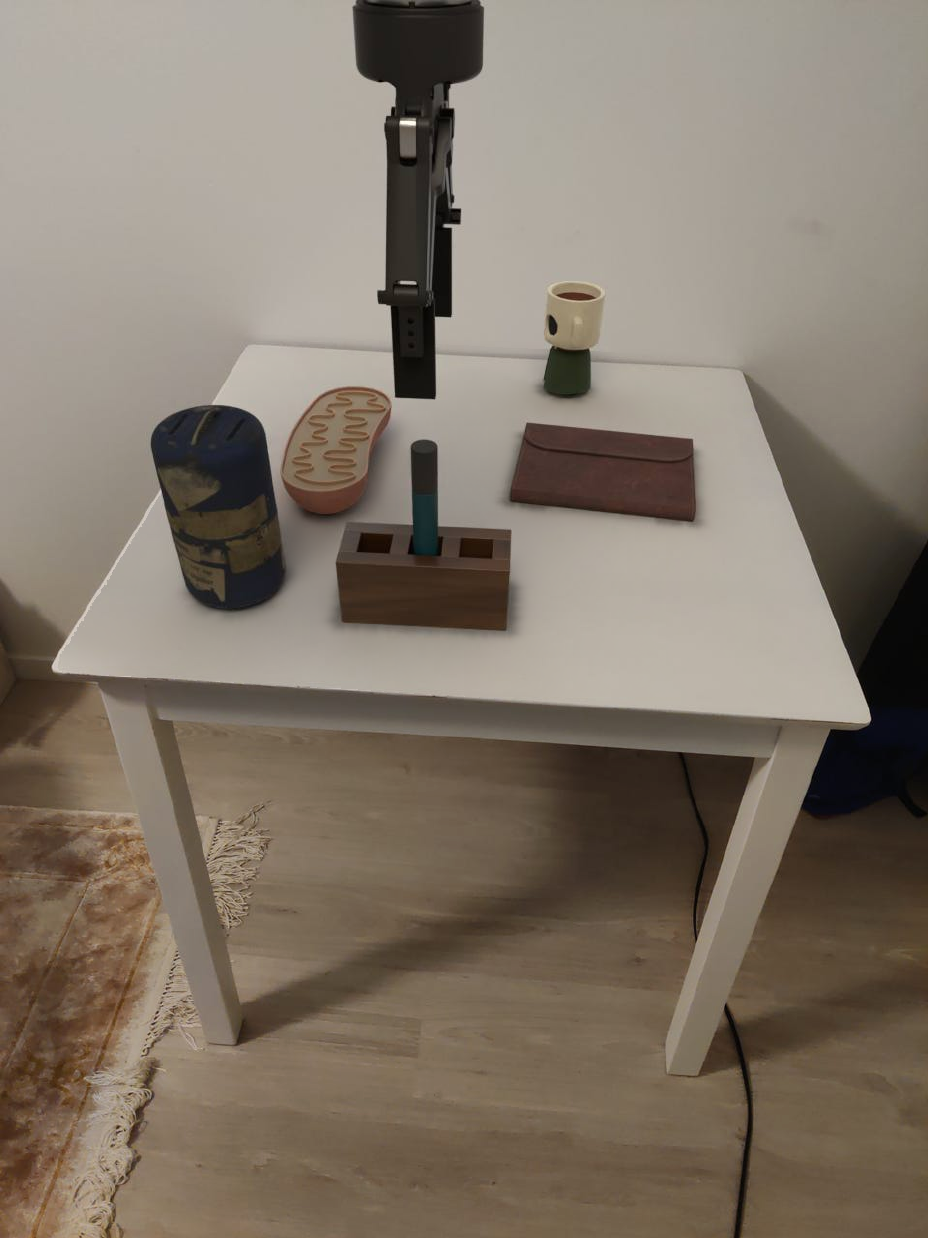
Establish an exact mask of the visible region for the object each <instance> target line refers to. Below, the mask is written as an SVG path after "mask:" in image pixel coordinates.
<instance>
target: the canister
mask: <svg viewBox="0 0 928 1238" xmlns="http://www.w3.org/2000/svg"><path fill="white" fill-rule="evenodd" d="M150 449H151V450H150V451H151V454H152V459H153V463H154V467H155V470H156V476H157V479H158V483H159V488H160V491H161V496H162V499H163V504H164V505H163V506H164V510H165V514H166V518H167V521H168V525H169V528H170V534H171V537H172V541H173V544H174V548H175V551H176V554H177V558H178V562H179V567H180V570H181V574H182V579H183V582H184V584H185V585H184V586H185V587H186V589H187V591H188V593H189V594H190V595H191V596H192V597H193V598H194V599H196V600H197V601H199V602H200V603H202V604H204V605H205V606H209V607H212V608H217V609H228V610H230V609H239V608H245V607H249V606H252V605H257V604H258V603H261V602H263V601H264V600H266V599H268V598H269V597H270V596H272V595H273V594H274V593H276V592H277V591H278V589H279V588H280V587H281V586H282V584H283V581H284V580H285V576H286V570H287V569H286V559H285V551H284V546H283V545H284V544H283V538H282V531H281V524H280V518H279V511H278V506H277V501H276V494H275V489H274V482H273V473H272V468H271V461H270V455H269V454H270V453H269V447H268V440H267V435H266V431H265V428H264V425H263V423H262V421H260V419H259V418H258V417H257V416H256V415H254V414H252V413H251V412H250V411H247V410H246V409H244V408H240V407H236V406H231V405H224V404H204V405H198V406H193V407H188V408H184V409H182V410H178V411H176V412H174V413H172V414H170V415H168V416H167V417H165V418H164V419H163V420H161V421H160V422H159V423H158V424H157V425H156V426H155V428H154V429H153V431H152V434H151V437H150Z"/></svg>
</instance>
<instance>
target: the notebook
mask: <svg viewBox="0 0 928 1238" xmlns="http://www.w3.org/2000/svg"><path fill="white" fill-rule="evenodd" d="M516 461H517V462H516V466H515V469H514V474H513V478H512V482H511V486H510V491H509V501H510V502H518V503H526V504H535V505H543V506H553V507H560V508H570V509H578V510H587V511H595V512H596V511H598V512H606V513H613V514H623V515H633V516H640V517H650V518H660V519H667V520H668V519H669V520H678V521H688V522H694V521H695V518H696V512H697V504H696V503H697V502H696V483H695V482H696V481H695V463H694V439H693V438H686V437H679V436H678V437H677V436H666V435H656V434H646V433H639V432H638V433H636V432H627V431H617V430H606V429H598V428H597V429H596V428H586V427H577V426H566V425H559V424H558V425H557V424H547V423H537V422H529V421H528V422H526V423H525V427H524V431H523V438H522V441H521V445H520V449H519V453H518V458H517V460H516Z"/></svg>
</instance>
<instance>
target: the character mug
mask: <svg viewBox="0 0 928 1238" xmlns="http://www.w3.org/2000/svg"><path fill="white" fill-rule="evenodd" d="M546 293H547V294H546V306H545V316H544V331H543V337H544V340H545V342H546V343H548V344H549V345H552V346H551V347H550V349H549V352H548V357H547V361H546V364H545V369H544V375H543V380H542V383H543V388H544V389H546V390H547V391H548V392H550V393H552V394H556V395H572V394H573V395H574V394H581V393H585V392H588V391H589V389H591V387H592V356H591V350H590V349H592V348H594V347H595V346H596V345H598V344H599V340H600V336H601V329H602V322H603V315H604V314H603V313H604V305H605V297H606V291H605V290H604V288H602V287H601V286H599V285H597V284H595V283H591V282H588V281H581V280H579V281H578V280H565V281H560V282H556V283H554V284H551V285H549V286H548V288H547V292H546Z"/></svg>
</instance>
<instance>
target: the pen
mask: <svg viewBox="0 0 928 1238" xmlns="http://www.w3.org/2000/svg"><path fill="white" fill-rule="evenodd" d="M438 455H439V449H438V444H437V443H436V442H435V441H433V440H430V439H417V440H415V441H413V442H411V444H410V479H411V481H410V482H411V511H412V512H411V513H412V514H411V515H412V525H413V551H414V555H423V556H438V526H439V489H438V488H439V471H438V470H439V459H438V458H439V456H438Z"/></svg>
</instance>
